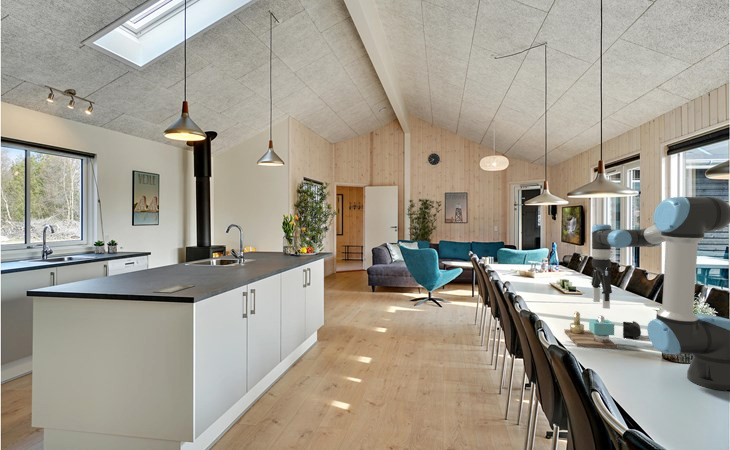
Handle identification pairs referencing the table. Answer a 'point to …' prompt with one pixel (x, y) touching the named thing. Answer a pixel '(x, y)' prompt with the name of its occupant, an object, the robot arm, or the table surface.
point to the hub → (576, 325)
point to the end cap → (631, 330)
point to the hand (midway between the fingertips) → (601, 305)
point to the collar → (601, 327)
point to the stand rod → (601, 337)
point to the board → (588, 340)
